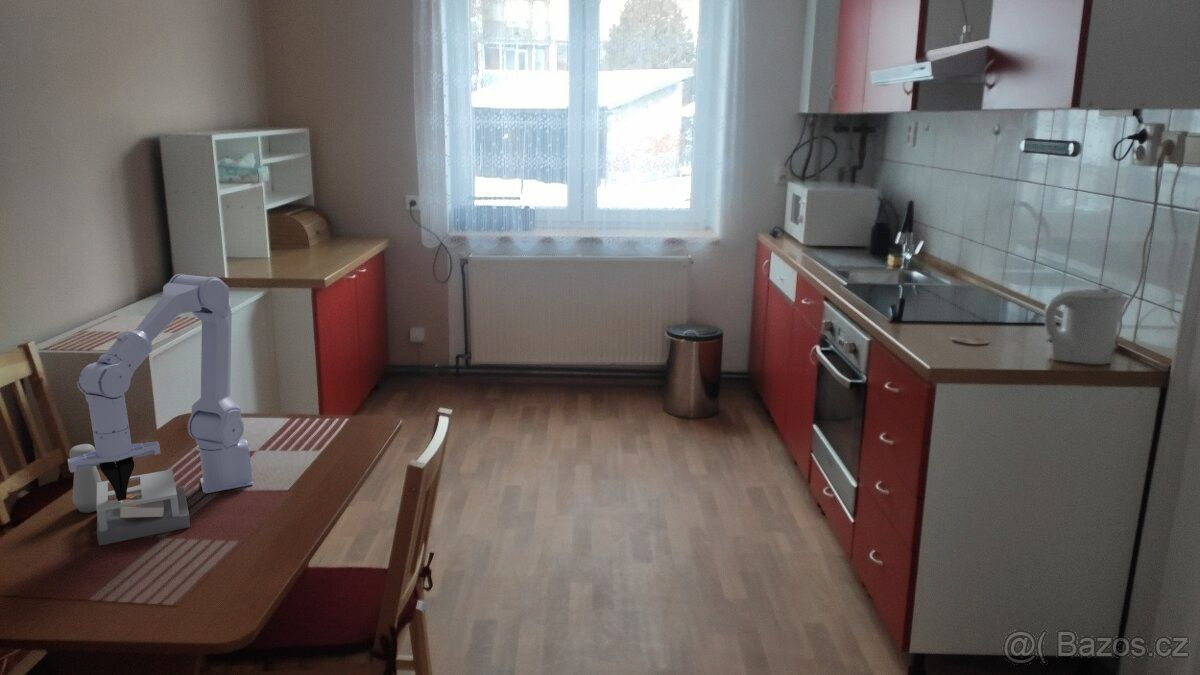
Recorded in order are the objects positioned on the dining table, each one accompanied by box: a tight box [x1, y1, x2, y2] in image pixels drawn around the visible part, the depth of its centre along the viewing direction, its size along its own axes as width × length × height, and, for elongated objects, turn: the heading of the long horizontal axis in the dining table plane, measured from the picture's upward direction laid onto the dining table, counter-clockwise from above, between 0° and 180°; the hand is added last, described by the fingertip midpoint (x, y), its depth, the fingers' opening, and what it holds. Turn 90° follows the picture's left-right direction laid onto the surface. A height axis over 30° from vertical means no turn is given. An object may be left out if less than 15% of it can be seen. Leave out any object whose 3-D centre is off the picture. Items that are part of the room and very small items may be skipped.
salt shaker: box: [69, 443, 103, 514], centre depth 171 cm, size 6×6×13 cm
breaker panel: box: [96, 469, 191, 546], centre depth 166 cm, size 15×14×7 cm
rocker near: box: [120, 498, 164, 518], centre depth 163 cm, size 7×5×2 cm
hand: (121, 498), depth 161 cm, fingers closed
